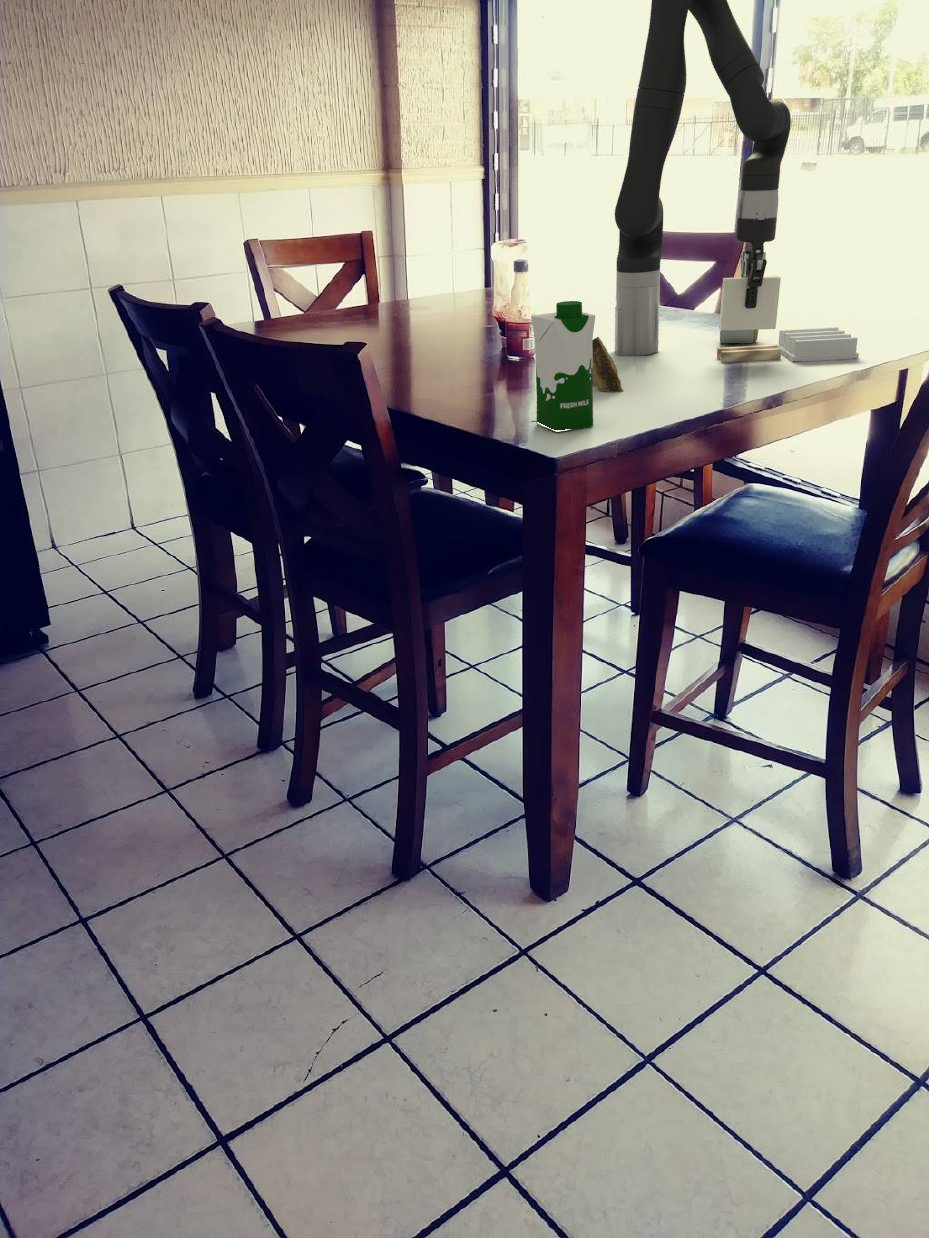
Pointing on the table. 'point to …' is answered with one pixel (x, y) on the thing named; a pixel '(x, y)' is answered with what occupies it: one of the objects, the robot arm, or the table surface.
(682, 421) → the table surface
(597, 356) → the rock
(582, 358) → the milk carton
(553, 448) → the table surface
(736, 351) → the stand
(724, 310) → the plate
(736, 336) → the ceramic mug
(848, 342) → the rack
